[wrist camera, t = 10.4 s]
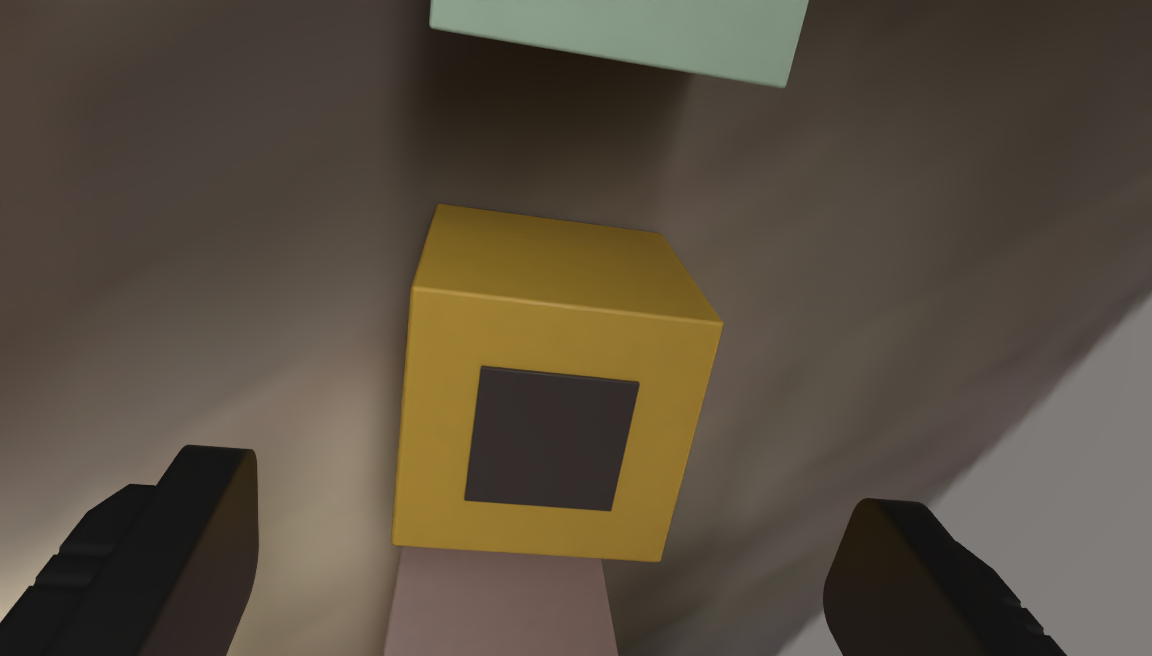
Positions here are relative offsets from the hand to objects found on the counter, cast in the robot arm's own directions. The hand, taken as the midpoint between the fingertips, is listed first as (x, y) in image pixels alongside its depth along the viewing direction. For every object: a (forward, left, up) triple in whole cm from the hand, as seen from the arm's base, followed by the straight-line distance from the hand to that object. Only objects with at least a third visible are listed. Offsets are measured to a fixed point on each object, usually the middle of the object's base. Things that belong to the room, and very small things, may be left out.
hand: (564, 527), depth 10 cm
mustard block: (0, 0, -8) cm, 8 cm away
